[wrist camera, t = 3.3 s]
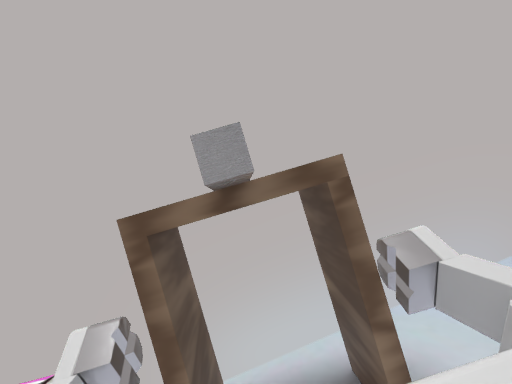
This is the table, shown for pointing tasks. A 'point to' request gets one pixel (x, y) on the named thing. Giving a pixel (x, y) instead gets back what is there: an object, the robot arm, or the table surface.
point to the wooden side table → (330, 256)
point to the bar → (223, 156)
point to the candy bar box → (41, 380)
